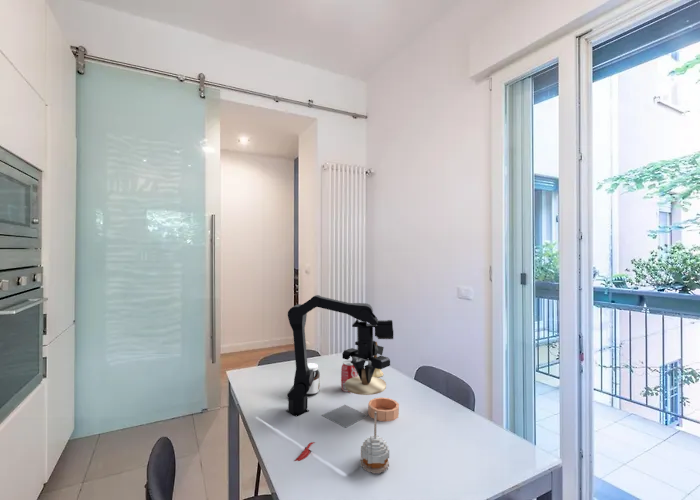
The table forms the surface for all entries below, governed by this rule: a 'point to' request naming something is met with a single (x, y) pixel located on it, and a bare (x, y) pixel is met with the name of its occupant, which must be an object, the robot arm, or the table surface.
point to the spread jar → (316, 375)
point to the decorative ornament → (375, 452)
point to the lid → (365, 385)
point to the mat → (345, 416)
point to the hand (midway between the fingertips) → (365, 381)
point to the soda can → (347, 373)
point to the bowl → (383, 409)
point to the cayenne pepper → (304, 452)
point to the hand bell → (377, 371)
